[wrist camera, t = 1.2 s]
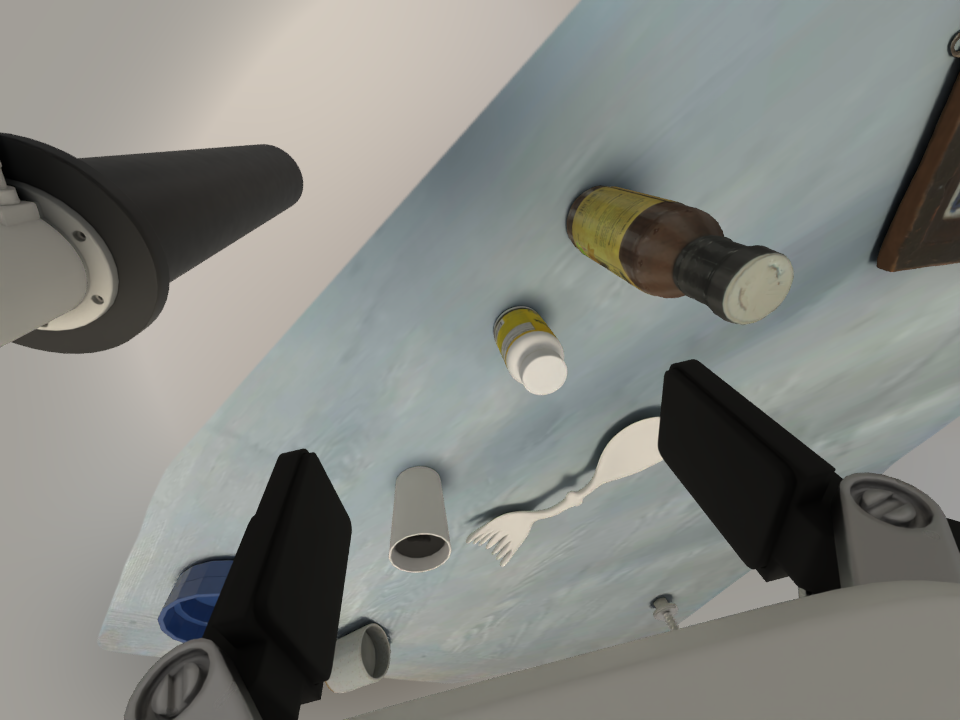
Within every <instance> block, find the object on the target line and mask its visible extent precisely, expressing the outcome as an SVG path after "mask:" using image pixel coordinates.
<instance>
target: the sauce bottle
mask: <svg viewBox="0 0 960 720" xmlns="http://www.w3.org/2000/svg"><path fill="white" fill-rule="evenodd" d="M567 233H568V236H569V238H570V239H571V241H572V242H573V244H574V245H575V247H577V248H578V249H579V250H580V252H581V253H583V254H584V255H586V256H587V257H589V258H590V259H592V260H594V261H595V262H597V263H599V264H600V265H602V266H603V267H605V268H607V269H608V270H610V271H611V272H613V273H614V274H616V275H617V276H619V277H621V278H622V279H624V280H625V281H627V282H628V283H630V284H631V285H633V286H635V287H636V288H638V289H639V290H641V291H643V292H645V293H647V294H650V295H653V296H659V297H663V298H679V297H681V296H685V295H686V296H688V297H690V298H693V299H695V300H697V301H699V302H701V303H703V304H706V305H707V306H709V308H710V309H711V310H712V311H713V313H714V314H716V315H718V316H719V317H720V318H722V319H723V320H725V321H728V322H731V323H735V324H741V325H745V324H750V323H754V322H757V321H759V320H761V319H763V318H764V317H765V316H767V315H768V314H769V313H771V312H773V311H774V310H775V309H776V308H777V307H778V306H779V305H780V304H781V303H782V301H783V300H784V299H785V297H786V295H787V294H788V292H789V290H790V287H791V284H792V281H793V277H794V276H793V267H792V265H791V262H790V260H789V259H788V258H787V257H786V256H785V255H784V254H781V253H779V252H776V251H774V250H771V249H769V248H767V247H765V246H759V245H755V246H745V245H742V244H739V243H736V242H733V241H732V240H731V239H729V238H727V237H724V234H723V231H722V229H721V227H720V225H719V223H718V222H717V221H716V220H715V219H714V218H713V217H712V216H711V215H709V214H708V213H706V212H704V211H702V210H700V209H697V208H693V207H689V206H686V205H684V204H682V203H679V202H676V201H672V200H668V199H664V198H660V197H656V196H652V195H648V194H644V193H640V192H636V191H632V190H628V189H624V188H619V187H613V186H612V187H607V186H601V185H600V186H595V187H592V188H591V189H589V190H587V191H585V192H584V193H582V194H581V195H580V196H579V197H578V198H577V199H576V200H575V201H574V203H573V204H572V206H571V208H570V211H569V215H568V217H567Z"/></svg>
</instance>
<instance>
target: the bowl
mask: <svg viewBox="0 0 960 720" xmlns="http://www.w3.org/2000/svg"><path fill="white" fill-rule="evenodd" d="M232 563H233V560H221V561H209V562H206V563H202V564H198V565H195V566H192V567H191V568H189V569H188V570H186V571H185V572H183V573H182V574H180V576H179V578H178V580H177V582H176V584H175V586H174V587H173V589H172V591H171V593H170V595H169V597H168V599H167V601H166V603H165V605H164V607H163V609H162V611H161V613H160V615H159V617H158V622H159V625H160V628H161V630H162V631H163V632H164V633H165V634H167V635H168V636H169V637H171V638H172V639H174V640H177V641H180V642H182V643H185V642H187V641H189V640H193V639H199V638H202V636H203V634H204V631H205V629H206V626H207V624H208V622H209V619H210V617H211V614H212V612H213V609H214V607H215V604H216V602H217V600H218V597H219V595H220V592H221V590H222V587H223V585H224V582H225V580H226V578H227V575H228V573H229V570H230V568H231V565H232Z"/></svg>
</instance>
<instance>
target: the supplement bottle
mask: <svg viewBox="0 0 960 720" xmlns="http://www.w3.org/2000/svg"><path fill="white" fill-rule="evenodd" d="M494 338H495V341H496V344H497V346H498V348H499V350H500V353H501V355H502V357H503V359H504V362H505V364H506V366H507V369H508V371H509V373H510V374H511V376H512V377H513V378H514V379H515V380H516V381H518V382H520V383H522V384H523V385H524V387H525V388H526V389H527V390H528V391H529V392H531V393H533V394H536V395H546V394H550V393H552V392H554V391H556V390H557V389H559V388H560V387H561V386H562V385H563V383H564V382H565V380H566V377H567V366H566V364H565V362H564V361H563V360H564V352H563V348H562V345H561V344H560V342H559V340H558V339H557V338H556V336H555V335H554V334H553V332H552V331H551V330H550V328H549V327H548V326H547V324H546V323H545V322H544V320H543V319H542V318H541V316H540V315H539V314H538V313H537V312H536V311H535V310H533V309H531V308H529V307H525V306H518V307H513V308H510V309H508V310H506V311H505V312H504V313H502V314H501V315H500V316H499V318H498V319H497V321H496V323H495V326H494Z"/></svg>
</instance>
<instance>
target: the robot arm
mask: <svg viewBox="0 0 960 720" xmlns="http://www.w3.org/2000/svg"><path fill="white" fill-rule="evenodd" d="M1 167H2V165H1V162H0V347H2V346H4V345H6V344H8V343H10V342H12V341H14V340H15V339H17V338H19V337H21V336H23V335H25V334H27V333H29V332H31V331H33V330H35V329H39V330H54V331H59V330H69V329H75V328H78V327H81V326H85V325H87V324H89V323H91V322H92V321H94V320H96V319H98V318H99V317H101V316H102V315H103V314H105V313H106V312H107V311H108V310H109V308H110V307H111V306H112V305H113V303H114V301H115V298H116V296H117V293H118V284H119V279H118V272H117V267H116V265H115V262H114V259H113V256H112V254H111V252H110V251H109V249H108V247H107V245H106V244H105V242H104V240H103V239H102V238H101V237H100V235H99V234H98V233H97V232H96V230H95V229H94V228H93V227H92V226H91V225H90V224H89V223H88V222H87V221H86V220H85V219H84V218H83V217H82V216H81V215H80V214H78V213H77V212H76V211H74V210H73V209H72V208H70V207H69V206H68V205H66V204H65V203H64V202H62V201H60V200H59V199H57V198H55V197H53V196H52V195H50V194H48V193H46V192H45V191H42V190H40V189H38V188H35V187H33V186H30V185H28V184H25V183H23V182H19V181H15V180H11V179H7V178H4V176H3V173H2V170H1ZM658 450H659V453H660V455H661V457H662V458H663V460H664V461H665V462H666V463H667V465H668V466H669V467H670V469H671V470H672V471H673V472H674V474H675V475H676V476H677V478H678V479H679V480H680V481H681V483H682V484H683V485H684V487H685V488H686V489H687V490H688V492H689V493H690V494H691V495H692V497H693V498H694V499H695V501H696V502H697V503H698V504H699V506H700V507H701V508H702V510H703V511H704V512H705V513H706V515H707V516H708V517H709V519H710V520H711V521H712V522H713V524H714V525H715V526H716V528H717V529H718V530H719V531H720V533H721V534H722V535H723V536H724V538H725V539H726V540H727V542H728V543H729V544H730V545H731V547H732V548H733V549H734V551H735V552H736V553H737V554H738V556H739V557H740V558H741V560H742V561H743V562H744V563H745V564H746V565H747V566H748V567H749V568H751V569H756V570H757V571H758V572H759V574H760V575H761V576H762V577H763V579H764V580H765V581H766V582H769V581H773V580H776V579H780V578H784V577H788V576H789V577H790V578H791V579H792V580H793V581H794V583H795V584H796V585H797V586H798V593H799V598H798V599H794V600H790V601H785V602H781V603H777V604H773V605H769V606H764V607H761V608H757V609H753V610H749V611H745V612H741V613H738V614H734V615H730V616H726V617H722V618H718V619H714V620H711V621H707V622H703V623H699V624H696V625H691V626H688V627H684V628H680V629H676V630H672V631H668V632H665V633H661V634H657V635H653V636H649V637H645V638H642V639H638V640H634V641H630V642H627V643H623V644H619V645H615V646H612V647H608V648H604V649H600V650H596V651H593V652H589V653H585V654H581V655H578V656H574V657H570V658H566V659H563V660H559V661H555V662H551V663H548V664H544V665H540V666H536V667H533V668H529V669H525V670H522V671H518V672H514V673H510V674H507V675H503V676H499V677H496V678H492V679H488V680H485V681H481V682H477V683H473V684H470V685H466V686H462V687H459V688H455V689H451V690H448V691H444V692H441V693H437V694H433V695H430V696H426V697H422V698H419V699H415V700H412V701H408V702H404V703H400V704H397V705H393V706H389V707H385V708H382V709H378V710H375V711H372V712H368V713H365V714H361V715H358V716H355V717H351V718H348V719H344V720H960V522H958V521H955V520H952V519H948V518H946V516H945V515H944V513H943V511H942V510H941V508H940V507H939V505H938V504H937V503H936V502H935V501H934V500H932V499H931V498H930V497H929V496H928V495H927V494H925V493H924V492H922V491H920V490H919V489H917V488H916V487H914V486H912V485H910V484H908V483H905V482H903V481H901V480H899V479H896V478H892V477H888V476H885V475H882V474H875V473H854V474H851V475H849V476H846V477H845V478H844V479H842V478H841V477H840V476H839V475H837V474H836V473H835V472H834V471H835V468H834V467H833V466H831V465H830V464H829V463H828V462H826V461H825V460H824V459H822V458H821V457H820V456H819V455H817V454H816V453H815V452H814V451H812V450H811V449H810V448H808V447H807V446H806V445H805V444H803V443H802V442H801V441H800V440H798V439H797V438H796V437H794V436H793V435H792V434H791V433H789V432H788V431H787V430H786V429H784V428H783V427H782V426H780V425H779V424H778V423H777V422H775V421H774V420H773V419H772V418H770V417H769V416H768V415H766V414H765V413H764V412H763V411H761V410H760V409H759V408H758V407H756V406H755V405H754V404H753V403H751V402H750V401H749V400H747V399H746V398H745V397H744V396H742V395H741V394H740V393H739V392H737V391H736V390H735V389H733V388H732V387H731V386H730V385H728V384H727V383H726V382H725V381H723V380H722V379H721V378H719V377H718V376H717V375H716V374H714V373H713V372H712V371H711V370H709V369H708V368H707V367H705V366H704V365H703V364H702V363H700V362H699V361H697V360H695V359H692V360H688V361H683V362H679V363H674V364H672V365H671V366H670V369H669V370H668V371H666V372H665V375H664V383H663V393H662V403H661V413H660V424H659V434H658ZM351 533H352V526H351V521H350V518H349V516H348V514H347V512H346V510H345V508H344V506H343V505H342V503H341V501H340V499H339V497H338V495H337V493H336V491H335V489H334V487H333V485H332V483H331V482H330V480H329V478H328V476H327V474H326V472H325V470H324V468H323V466H322V464H321V462H320V460H319V458H318V457H317V455H316V454H315V453H314V452H312V453H309V452H308V450H306V449H300V450H295V451H291V452H287V453H282V454H281V455H279V457H278V459H277V462H276V464H275V467H274V469H273V472H272V474H271V477H270V479H269V482H268V484H267V487H266V489H265V492H264V494H263V497H262V499H261V502H260V504H259V507H258V509H257V512H256V514H255V515H254V516H253V517H252V518H251V520H250V522H249V524H248V526H247V529H246V531H245V534H244V536H243V538H242V541H241V543H240V546H239V548H238V551H237V553H236V556H235V558H234V560H233V563H232V565H231V568H230V570H229V573H228V575H227V578H226V580H225V582H224V585H223V587H222V590H221V592H220V595H219V597H218V600H217V602H216V604H215V607H214V609H213V612H212V614H211V617H210V619H209V622H208V624H207V626H206V629H205V631H204V634H203V636H202V638H199V639H193V640H189V641H187V642H185V643H183V644H181V645H178V646H176V647H175V648H174V649H172V650H171V651H169V652H168V653H167V654H165V655H164V656H163V657H162V658H160V660H159V661H157V663H155V665H153V666H152V667H151V668H150V669H149V671H148V672H147V673H146V674H145V676H144V677H143V678H142V679H141V681H140V682H139V683H138V685H137V687H136V688H135V690H134V692H133V694H132V696H131V698H130V699H129V702H128V705H127V708H126V711H125V714H124V720H298V715H299V710H300V705H301V704H305V703H309V702H313V701H317V700H320V699H321V695H322V688H323V682H324V681H327V680H329V678H330V676H331V672H332V667H333V660H334V653H335V646H336V639H337V632H338V625H339V618H340V611H341V604H342V597H343V590H344V583H345V576H346V569H347V562H348V555H349V547H350V540H351Z"/></svg>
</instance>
